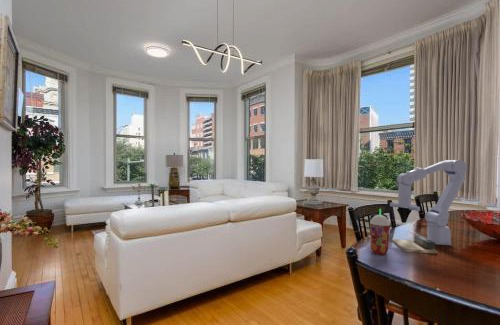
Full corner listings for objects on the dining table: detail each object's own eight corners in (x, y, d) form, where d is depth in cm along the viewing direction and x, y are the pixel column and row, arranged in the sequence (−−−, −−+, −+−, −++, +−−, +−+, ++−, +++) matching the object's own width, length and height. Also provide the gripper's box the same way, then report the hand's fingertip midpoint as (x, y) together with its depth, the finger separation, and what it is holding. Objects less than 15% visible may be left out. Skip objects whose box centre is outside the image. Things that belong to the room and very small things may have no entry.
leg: (412, 240, 136) (412, 233, 136) (420, 240, 136) (420, 234, 136) (426, 248, 124) (426, 241, 124) (434, 248, 123) (435, 241, 123)
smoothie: (387, 251, 124) (389, 208, 123) (391, 257, 116) (392, 211, 116) (368, 248, 126) (369, 206, 126) (370, 254, 118) (371, 209, 118)
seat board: (421, 243, 137) (421, 240, 137) (437, 253, 121) (437, 250, 121) (391, 241, 140) (391, 238, 140) (403, 251, 124) (403, 248, 124)
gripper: (386, 195, 144) (386, 220, 144) (414, 198, 131) (413, 226, 131) (394, 194, 147) (394, 219, 147) (422, 197, 134) (421, 224, 135)
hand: (403, 222), depth 139 cm, fingers closed
